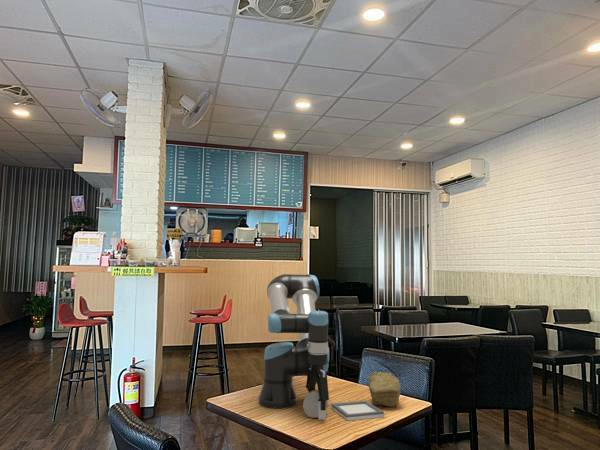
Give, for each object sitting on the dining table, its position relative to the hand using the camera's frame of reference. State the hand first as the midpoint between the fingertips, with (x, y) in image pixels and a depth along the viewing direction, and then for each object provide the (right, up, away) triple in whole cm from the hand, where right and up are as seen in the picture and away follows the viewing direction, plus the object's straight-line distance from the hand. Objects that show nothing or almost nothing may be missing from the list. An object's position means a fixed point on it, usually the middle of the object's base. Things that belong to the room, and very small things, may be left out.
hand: (316, 414), depth 164 cm
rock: (+29, -3, +16) cm, 33 cm away
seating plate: (+15, -1, +4) cm, 16 cm away
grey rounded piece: (0, -1, 0) cm, 1 cm away
